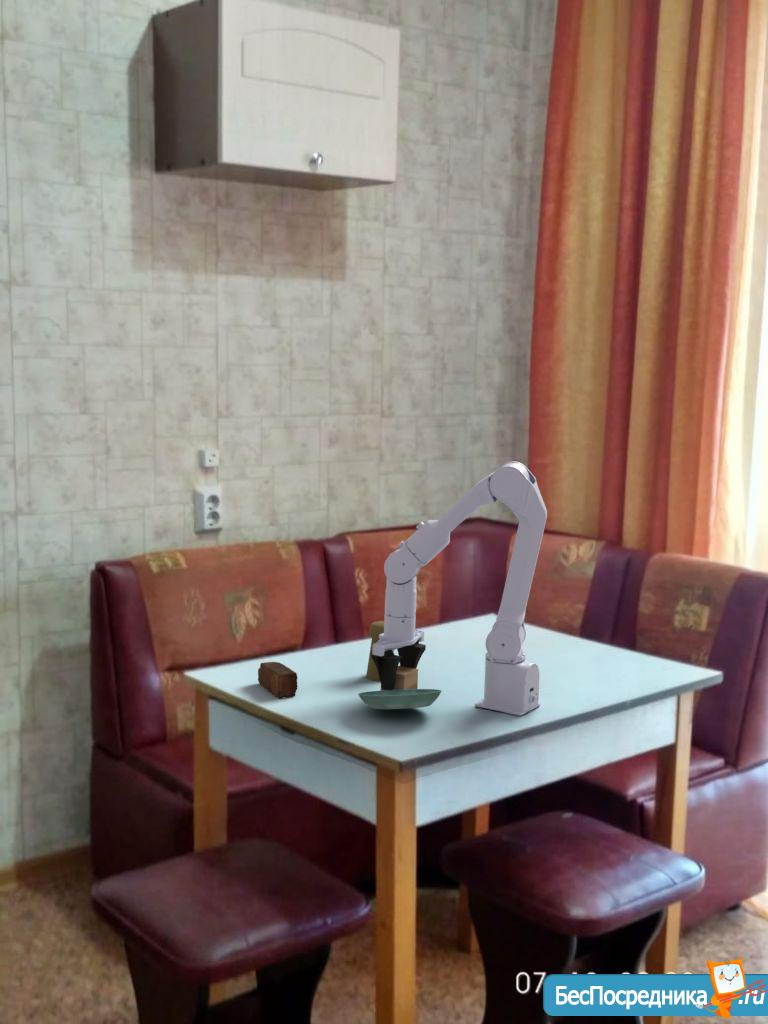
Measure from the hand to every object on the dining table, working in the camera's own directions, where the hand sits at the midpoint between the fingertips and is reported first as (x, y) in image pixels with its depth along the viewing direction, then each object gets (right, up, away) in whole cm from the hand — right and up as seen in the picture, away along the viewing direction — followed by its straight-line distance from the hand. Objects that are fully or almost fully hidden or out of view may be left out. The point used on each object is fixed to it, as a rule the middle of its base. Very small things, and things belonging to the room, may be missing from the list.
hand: (397, 685), depth 219 cm
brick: (-22, -2, +3) cm, 23 cm away
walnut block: (0, -2, +1) cm, 2 cm away
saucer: (0, -2, -11) cm, 11 cm away
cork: (-3, 0, +13) cm, 13 cm away
